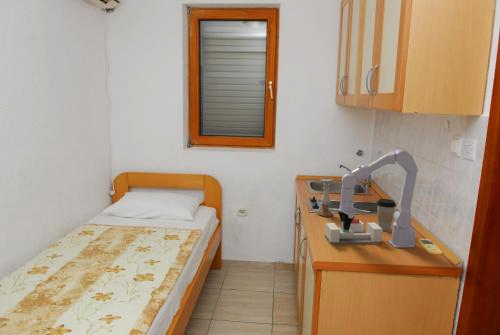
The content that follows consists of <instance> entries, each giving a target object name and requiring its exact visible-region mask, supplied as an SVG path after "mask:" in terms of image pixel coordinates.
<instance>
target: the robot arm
mask: <svg viewBox="0 0 500 335" xmlns="http://www.w3.org/2000/svg"><path fill="white" fill-rule="evenodd" d="M396 164H398V165H399V166H401V167H402V169H403V171H404V173H403V174H404V175H403V180H402V185H401V191H400V195H399V201H398V204H396V208H395V209H394V213H393V220H394V222H393V223H392V232H391V239H387V242H388V243H389V244H390V245H391V246H392V247H394V248H395V249H396V248H415V247H416V246H415V241H416V240H415V239H416V229H415V226H413V225H412V218H411V215H412V213H411V212H412V210H411V206H412V205H411V204H412V200H413V196H414V190H415V185H416V181H417V176H418V171H419V170H418V165H417V163H416V161H415V158H414V157H413V155H412V154H411V153H409V152H408V151H406V149H404V148H403V147H402V148H401V147H399V148H398V147H397V148H396V149H394V150H391V151H388V153H385V154H384V155H383V156H381V157H379V158H378V159H376V160H374V161H372V162H371V163H370V164H368V165H365V164H363V165H358V166H357V168H355V169H354V170H352V171H351V170H350V171H348V173H345V174H344V175H342V176H341V184H342V185H341V190H340V204H339V208H337V214H338V215H339V219H340V220H339V221H340V222H341V221H343V223H344V230H349V228H350V225H351V223H352V221H353V219H354V218H355V216H356V215H354V196H355V190H354V189H355V186H356V184H358V183H360V182H362V181H363V180H365V179H368V178H369V177H370V176H371V174H372V172H374V171H376V170H378V169H380V168H382V167H383V166H386V165H396Z"/></svg>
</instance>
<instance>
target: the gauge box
mask: <svg viewBox="0 0 500 335" xmlns="http://www.w3.org/2000/svg"><path fill="white" fill-rule="evenodd" d="M364 227H365V223H363V221H362V220H360V219H359V223H358V224H351V225H350V228H349V229H350V230H351V231H352V232H353V233H364V229H365V228H364Z"/></svg>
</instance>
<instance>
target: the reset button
mask: <svg viewBox="0 0 500 335" xmlns="http://www.w3.org/2000/svg"><path fill="white" fill-rule="evenodd" d="M354 216H355V218H354V219H353V221H352V223H351V224H358V223H359V220H360V217H358V216H356V215H354Z"/></svg>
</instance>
